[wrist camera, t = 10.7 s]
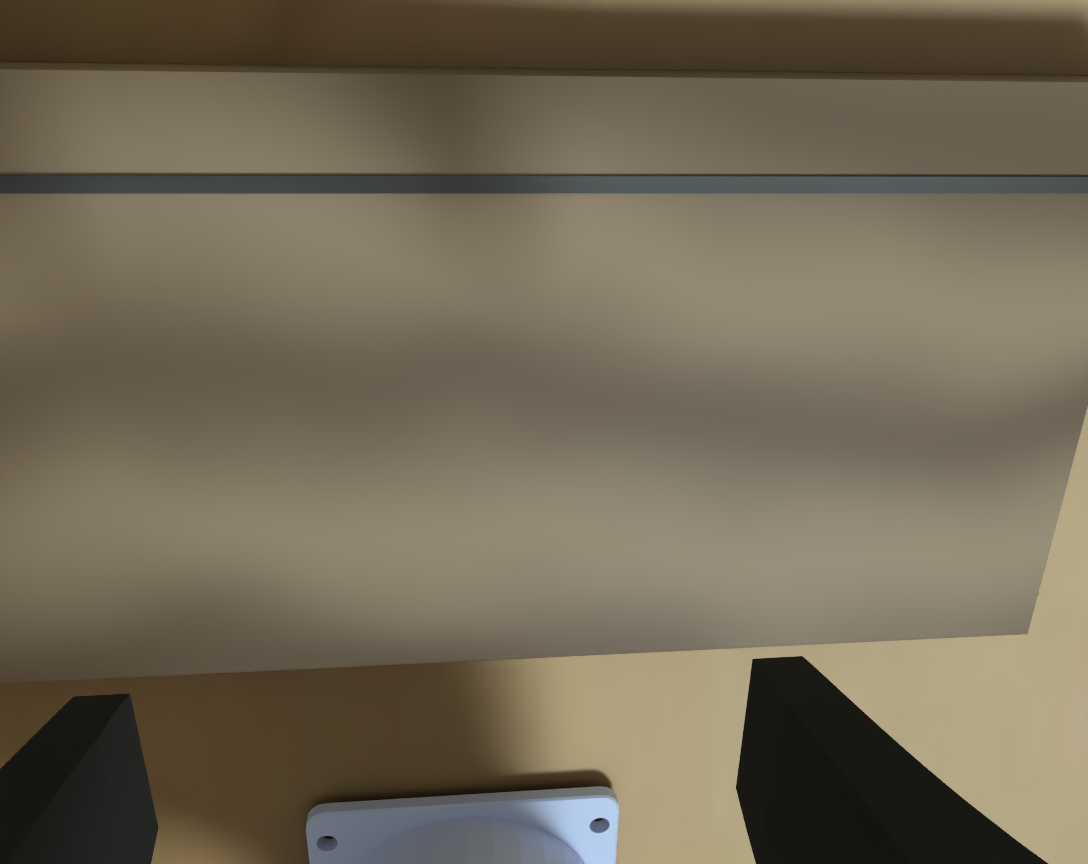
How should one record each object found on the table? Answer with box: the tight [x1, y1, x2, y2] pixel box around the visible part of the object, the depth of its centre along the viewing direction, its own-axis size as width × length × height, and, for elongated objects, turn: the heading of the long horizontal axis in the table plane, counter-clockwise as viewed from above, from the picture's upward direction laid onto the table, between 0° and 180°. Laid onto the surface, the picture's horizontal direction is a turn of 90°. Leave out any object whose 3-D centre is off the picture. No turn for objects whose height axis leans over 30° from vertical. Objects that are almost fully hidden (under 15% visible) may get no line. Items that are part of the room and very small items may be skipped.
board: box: [0, 62, 1088, 684], centre depth 19 cm, size 12×30×2 cm, turn 89°
